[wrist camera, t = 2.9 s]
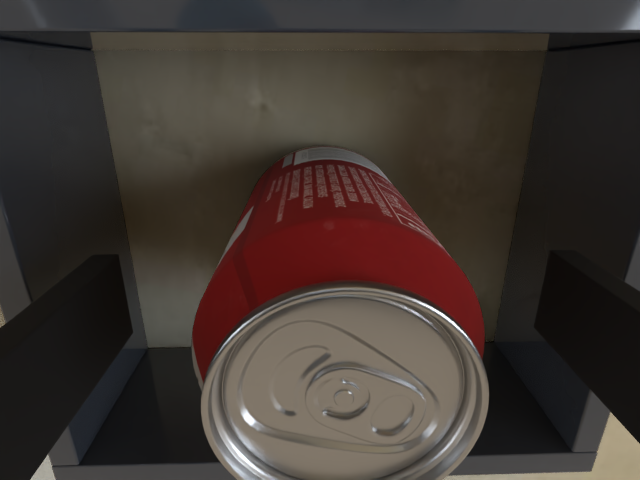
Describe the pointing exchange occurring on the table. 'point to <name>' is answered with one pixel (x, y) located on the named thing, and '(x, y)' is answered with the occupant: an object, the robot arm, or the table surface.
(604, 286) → the robot arm
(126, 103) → the table surface
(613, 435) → the table surface
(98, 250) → the grey rectangular bin
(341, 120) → the table surface
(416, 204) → the table surface
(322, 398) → the soda can
